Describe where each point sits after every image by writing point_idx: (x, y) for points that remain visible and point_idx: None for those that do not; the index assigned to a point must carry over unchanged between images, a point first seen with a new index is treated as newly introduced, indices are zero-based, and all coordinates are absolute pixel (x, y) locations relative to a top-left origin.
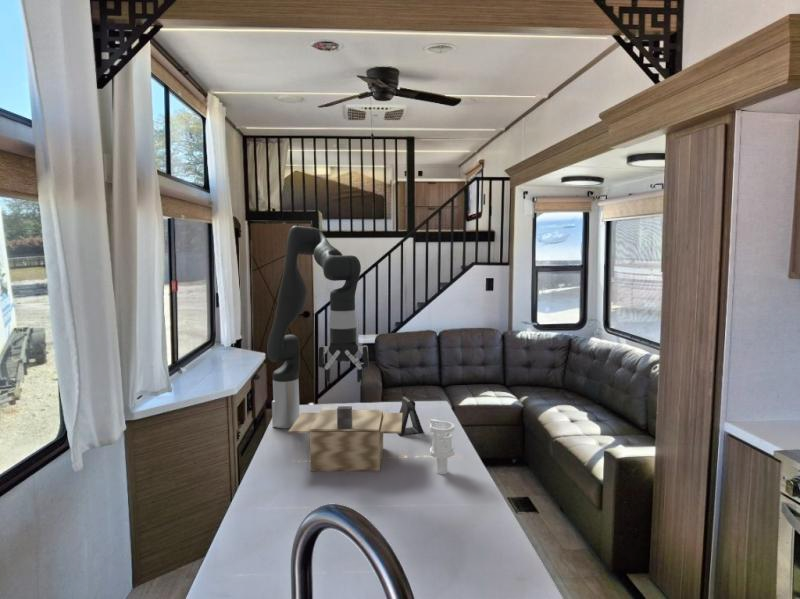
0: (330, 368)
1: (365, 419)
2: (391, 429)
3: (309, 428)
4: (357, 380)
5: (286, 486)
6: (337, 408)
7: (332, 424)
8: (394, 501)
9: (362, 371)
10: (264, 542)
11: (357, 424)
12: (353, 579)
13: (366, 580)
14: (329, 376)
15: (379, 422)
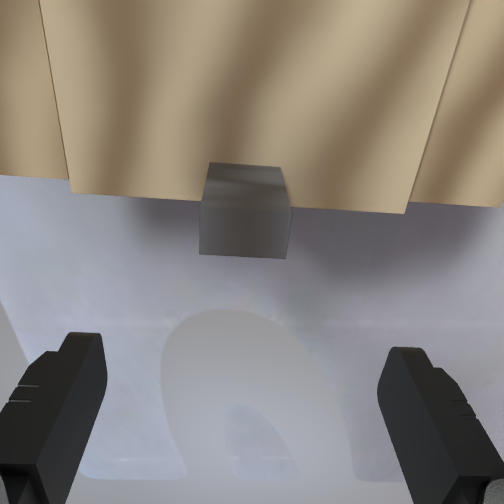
0: (34, 473)
1: (360, 51)
2: (466, 181)
3: (55, 140)
4: (382, 409)
5: (85, 231)
6: (201, 248)
7: (171, 131)
8: (364, 309)
9: (488, 460)
10: (127, 410)
11: (308, 139)
12: (275, 467)
13: (291, 468)
14: (83, 440)
15: (431, 114)
